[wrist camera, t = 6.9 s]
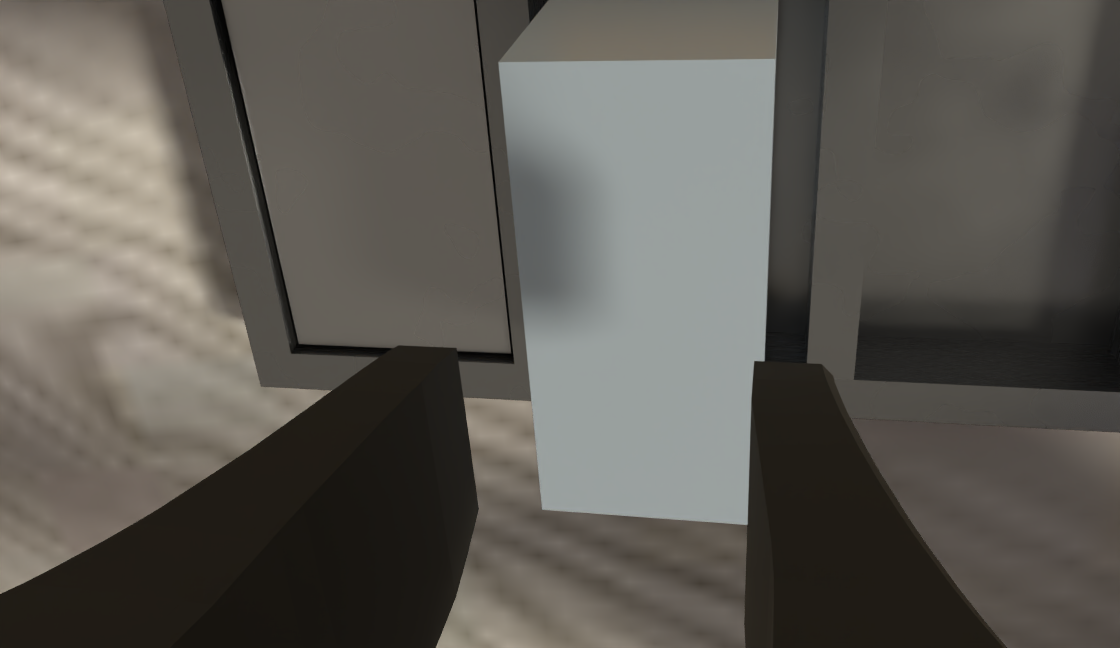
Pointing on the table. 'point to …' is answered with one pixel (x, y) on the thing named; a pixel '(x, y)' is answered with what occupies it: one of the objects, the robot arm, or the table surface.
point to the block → (643, 247)
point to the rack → (796, 195)
